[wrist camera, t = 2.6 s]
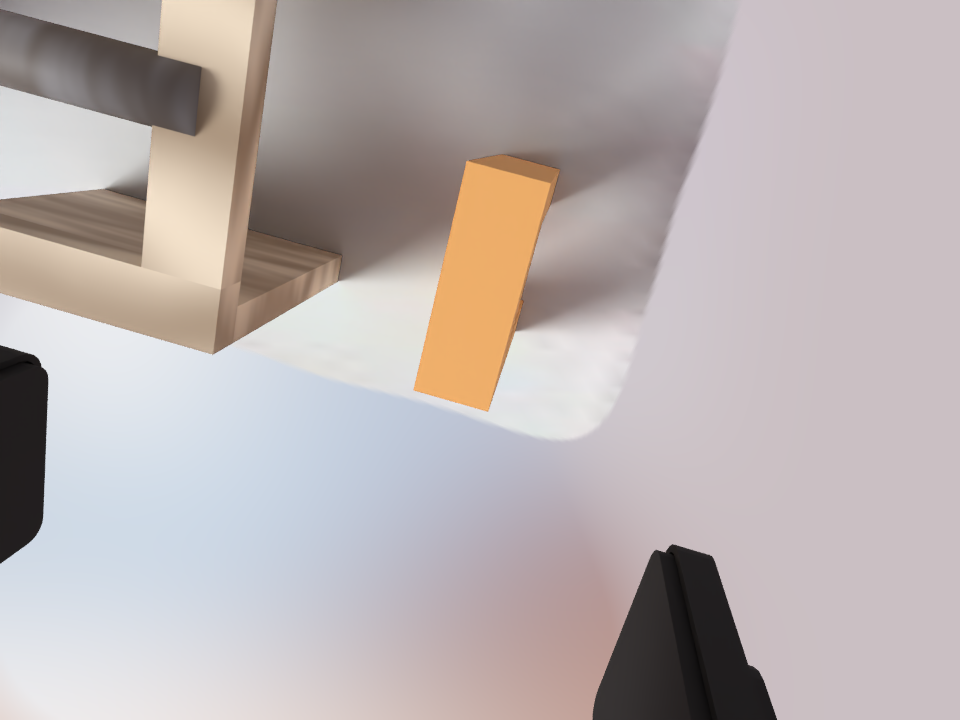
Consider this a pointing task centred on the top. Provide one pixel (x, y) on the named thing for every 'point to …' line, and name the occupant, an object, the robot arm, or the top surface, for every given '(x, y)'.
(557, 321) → the top surface
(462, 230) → the orange u-shaped block
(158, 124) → the open wooden frame
